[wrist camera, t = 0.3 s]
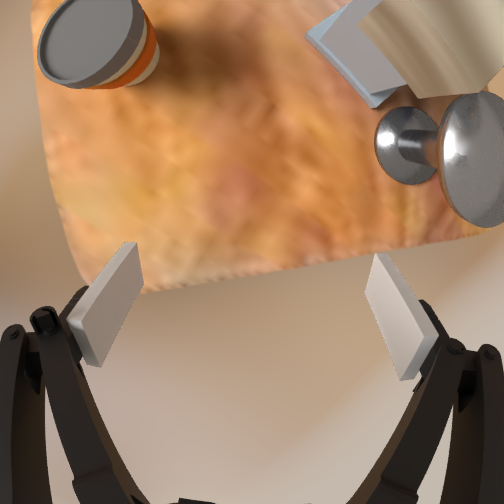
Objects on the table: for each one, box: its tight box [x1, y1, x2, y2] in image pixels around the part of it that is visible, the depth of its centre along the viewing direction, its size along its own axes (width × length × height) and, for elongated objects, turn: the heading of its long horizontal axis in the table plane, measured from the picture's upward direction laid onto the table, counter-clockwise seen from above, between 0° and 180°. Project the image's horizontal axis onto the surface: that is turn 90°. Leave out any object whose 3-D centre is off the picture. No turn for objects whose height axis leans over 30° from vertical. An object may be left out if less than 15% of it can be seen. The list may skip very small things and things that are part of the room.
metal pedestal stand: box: [374, 91, 504, 228], centre depth 29 cm, size 14×14×19 cm
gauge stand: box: [304, 0, 504, 108], centre depth 19 cm, size 13×14×30 cm
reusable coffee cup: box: [37, 0, 160, 89], centre depth 26 cm, size 13×13×15 cm
